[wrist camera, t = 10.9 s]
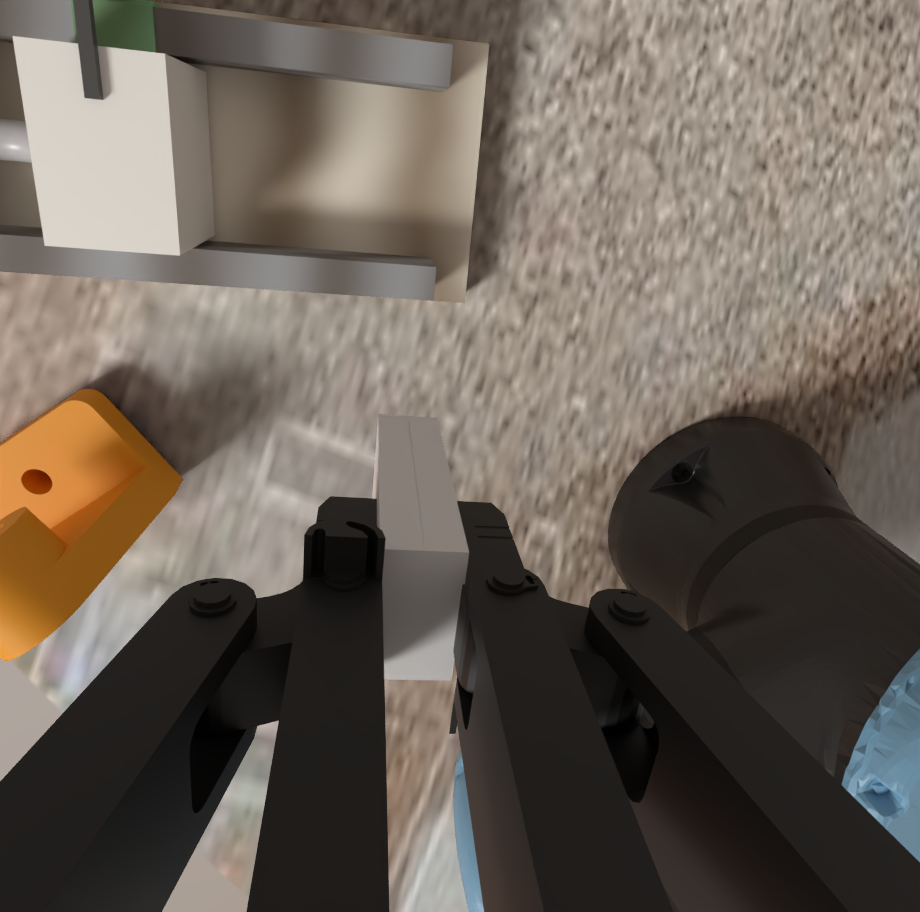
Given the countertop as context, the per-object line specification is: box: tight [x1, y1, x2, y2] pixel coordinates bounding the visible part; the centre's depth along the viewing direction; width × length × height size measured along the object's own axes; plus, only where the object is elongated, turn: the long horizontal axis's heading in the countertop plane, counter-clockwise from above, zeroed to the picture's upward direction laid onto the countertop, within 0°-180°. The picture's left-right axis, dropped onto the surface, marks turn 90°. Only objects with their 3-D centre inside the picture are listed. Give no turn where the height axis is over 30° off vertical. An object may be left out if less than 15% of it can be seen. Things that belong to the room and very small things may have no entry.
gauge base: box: [0, 0, 489, 303], centre depth 29 cm, size 30×12×10 cm, turn 85°
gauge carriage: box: [0, 0, 215, 256], centre depth 27 cm, size 9×10×7 cm
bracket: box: [0, 389, 183, 661], centre depth 34 cm, size 11×7×12 cm
